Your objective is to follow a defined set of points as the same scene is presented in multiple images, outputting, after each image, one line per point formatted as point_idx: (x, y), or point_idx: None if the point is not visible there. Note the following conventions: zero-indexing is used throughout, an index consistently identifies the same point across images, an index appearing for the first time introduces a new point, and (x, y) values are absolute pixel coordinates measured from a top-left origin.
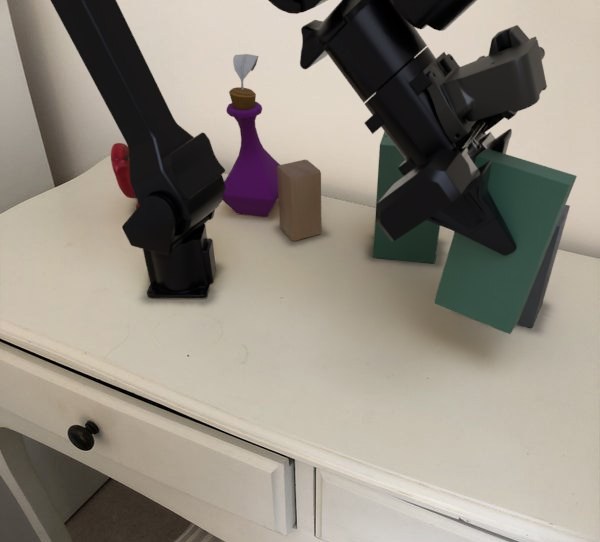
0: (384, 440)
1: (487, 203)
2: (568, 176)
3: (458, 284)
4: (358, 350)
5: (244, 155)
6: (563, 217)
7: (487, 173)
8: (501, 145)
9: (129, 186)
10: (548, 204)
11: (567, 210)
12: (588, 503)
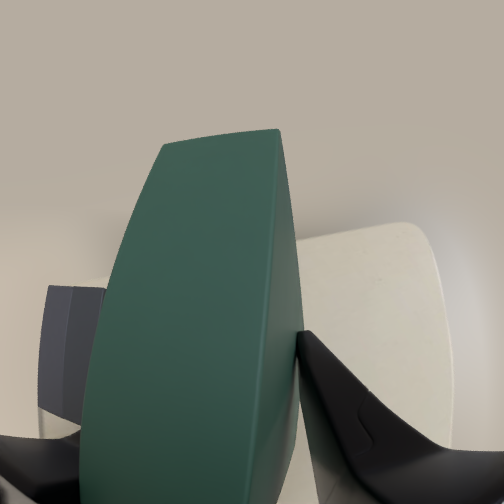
0: (426, 398)
1: (408, 429)
2: (189, 153)
3: (295, 424)
4: (310, 488)
5: None
6: (77, 288)
7: (472, 484)
8: (52, 497)
9: None
10: (289, 229)
11: (59, 286)
12: (398, 225)
